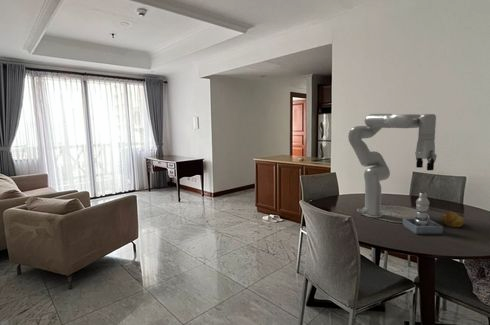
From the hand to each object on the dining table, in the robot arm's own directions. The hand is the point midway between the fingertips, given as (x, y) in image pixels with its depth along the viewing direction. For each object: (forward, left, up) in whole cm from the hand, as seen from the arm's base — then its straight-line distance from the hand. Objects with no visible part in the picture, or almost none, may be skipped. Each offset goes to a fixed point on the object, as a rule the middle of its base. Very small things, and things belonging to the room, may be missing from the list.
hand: (424, 168), depth 155 cm
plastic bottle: (0, 0, -34) cm, 34 cm away
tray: (0, 0, -34) cm, 34 cm away
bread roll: (+21, +7, -35) cm, 41 cm away
